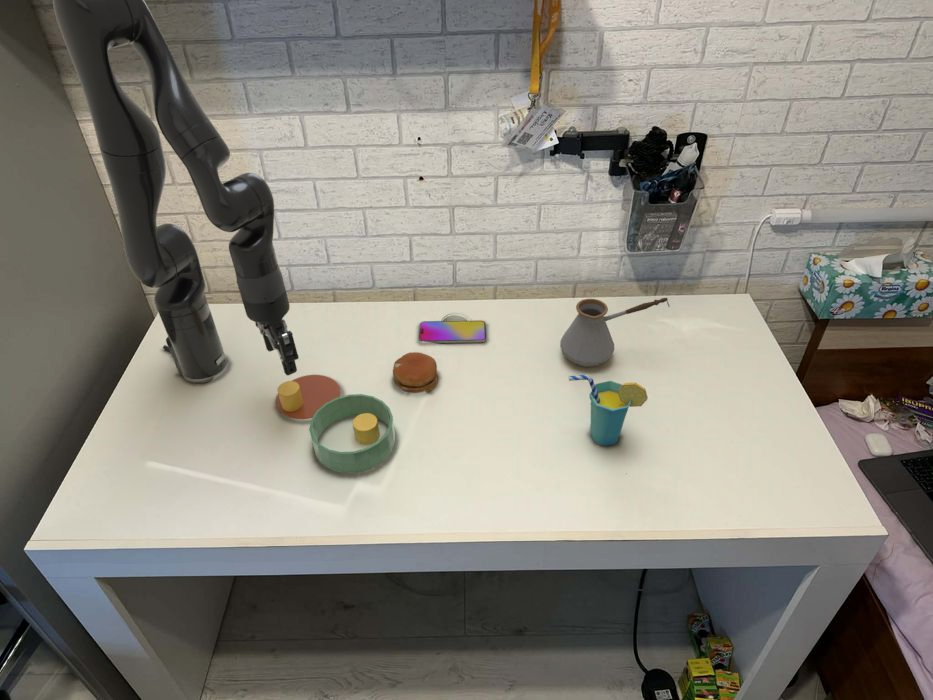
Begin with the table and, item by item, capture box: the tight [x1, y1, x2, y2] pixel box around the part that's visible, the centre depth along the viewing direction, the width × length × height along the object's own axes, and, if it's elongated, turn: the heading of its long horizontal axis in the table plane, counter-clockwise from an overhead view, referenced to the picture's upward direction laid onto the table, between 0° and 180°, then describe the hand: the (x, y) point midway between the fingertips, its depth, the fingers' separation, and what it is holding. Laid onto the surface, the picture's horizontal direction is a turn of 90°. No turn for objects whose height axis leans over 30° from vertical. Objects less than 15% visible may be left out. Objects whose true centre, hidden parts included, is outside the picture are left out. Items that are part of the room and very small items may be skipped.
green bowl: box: [308, 393, 396, 474], centre depth 121 cm, size 15×15×6 cm
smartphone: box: [418, 320, 487, 344], centre depth 148 cm, size 7×1×15 cm
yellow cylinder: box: [277, 380, 303, 412], centre depth 129 cm, size 4×4×4 cm
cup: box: [568, 374, 648, 447], centre depth 119 cm, size 14×8×15 cm, turn 84°
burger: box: [392, 351, 439, 393], centre depth 136 cm, size 10×9×5 cm
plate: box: [275, 374, 342, 420], centre depth 133 cm, size 13×13×1 cm
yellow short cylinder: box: [352, 413, 381, 445], centre depth 123 cm, size 5×5×4 cm
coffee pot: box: [559, 297, 671, 368], centre depth 137 cm, size 21×12×15 cm, turn 89°
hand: (282, 360), depth 123 cm, fingers open, 8 cm apart
